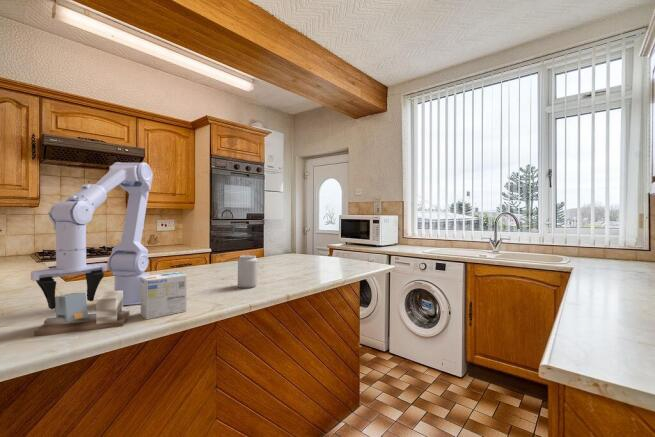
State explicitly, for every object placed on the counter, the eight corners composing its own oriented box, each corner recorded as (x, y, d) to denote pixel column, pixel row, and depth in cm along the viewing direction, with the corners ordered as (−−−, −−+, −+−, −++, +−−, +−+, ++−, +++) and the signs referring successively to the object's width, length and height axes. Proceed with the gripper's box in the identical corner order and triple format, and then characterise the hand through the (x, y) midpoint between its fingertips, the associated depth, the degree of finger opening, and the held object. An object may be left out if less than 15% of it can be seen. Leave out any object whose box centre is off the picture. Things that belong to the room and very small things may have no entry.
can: (234, 288, 116) (234, 256, 115) (242, 283, 123) (243, 253, 123) (252, 289, 114) (253, 257, 114) (260, 284, 122) (260, 254, 121)
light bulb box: (179, 306, 93) (179, 270, 93) (187, 311, 88) (187, 274, 88) (139, 314, 85) (139, 275, 85) (145, 320, 81) (145, 279, 80)
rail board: (129, 314, 85) (129, 289, 85) (122, 325, 76) (122, 298, 76) (51, 322, 78) (51, 295, 78) (34, 335, 70) (34, 305, 69)
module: (75, 315, 80) (73, 292, 80) (89, 316, 75) (86, 292, 75) (56, 320, 76) (53, 296, 77) (68, 322, 72) (65, 296, 72)
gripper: (98, 245, 84) (99, 294, 84) (26, 251, 72) (27, 308, 72) (110, 247, 80) (110, 299, 80) (36, 253, 68) (36, 314, 68)
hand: (71, 304), depth 76 cm, fingers open, 7 cm apart
